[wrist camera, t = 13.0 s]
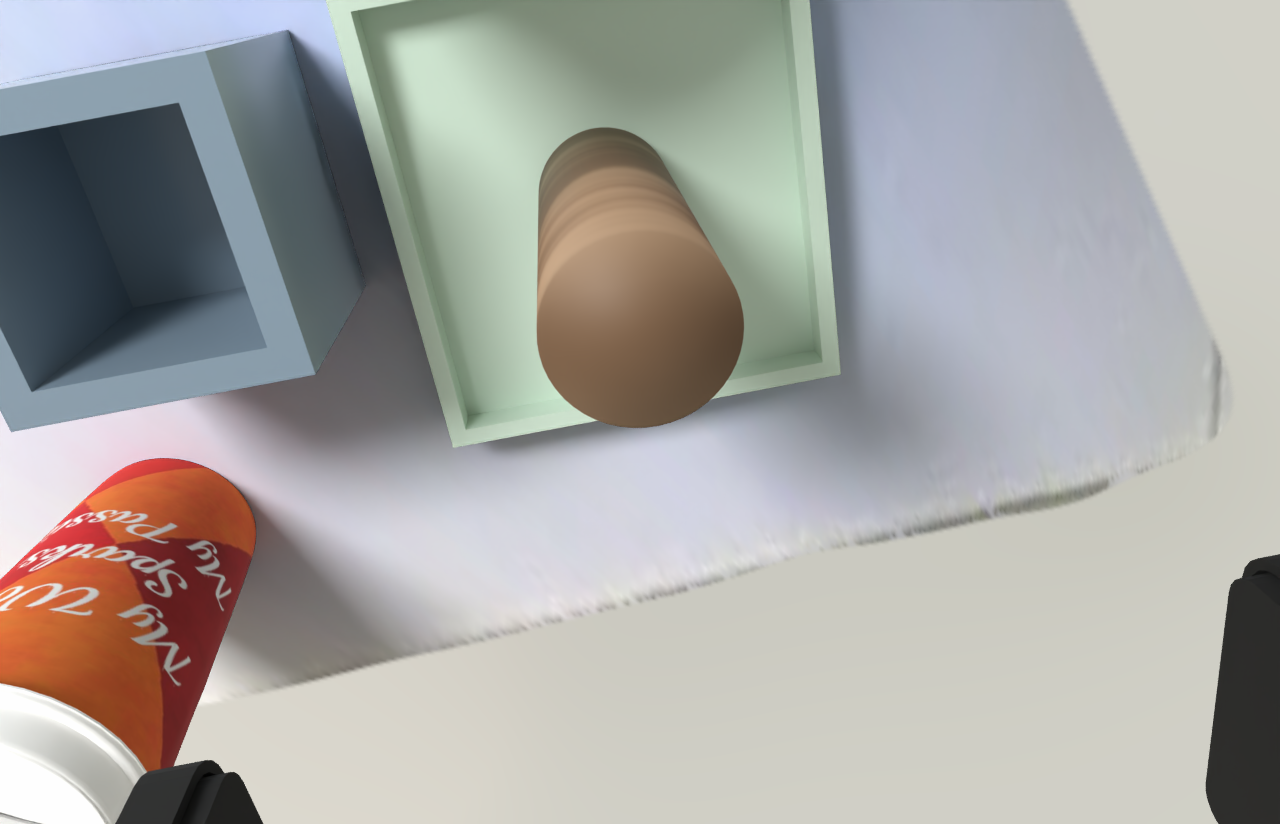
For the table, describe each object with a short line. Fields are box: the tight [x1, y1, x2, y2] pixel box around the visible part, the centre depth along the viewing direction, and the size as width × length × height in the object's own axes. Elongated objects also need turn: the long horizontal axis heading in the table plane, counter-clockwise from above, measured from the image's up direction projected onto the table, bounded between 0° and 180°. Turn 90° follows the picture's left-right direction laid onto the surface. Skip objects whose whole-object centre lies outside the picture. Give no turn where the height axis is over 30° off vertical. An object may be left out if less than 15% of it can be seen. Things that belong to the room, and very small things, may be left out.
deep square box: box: [0, 30, 366, 432], centre depth 28 cm, size 8×8×8 cm
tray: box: [326, 0, 841, 448], centre depth 32 cm, size 15×14×2 cm
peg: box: [537, 127, 744, 428], centre depth 26 cm, size 4×4×13 cm
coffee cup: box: [0, 458, 256, 824], centre depth 30 cm, size 8×8×15 cm
